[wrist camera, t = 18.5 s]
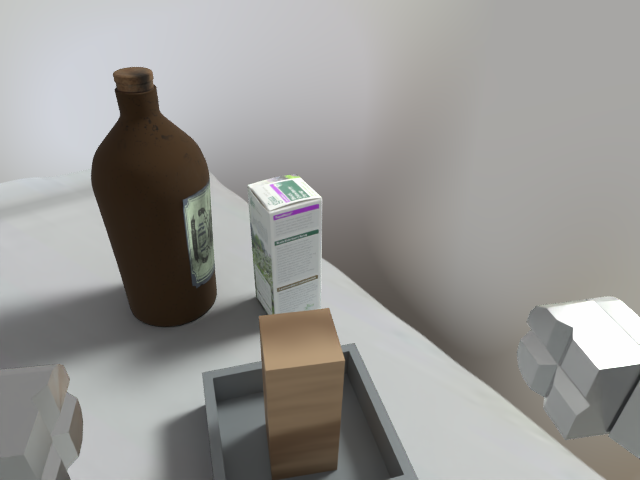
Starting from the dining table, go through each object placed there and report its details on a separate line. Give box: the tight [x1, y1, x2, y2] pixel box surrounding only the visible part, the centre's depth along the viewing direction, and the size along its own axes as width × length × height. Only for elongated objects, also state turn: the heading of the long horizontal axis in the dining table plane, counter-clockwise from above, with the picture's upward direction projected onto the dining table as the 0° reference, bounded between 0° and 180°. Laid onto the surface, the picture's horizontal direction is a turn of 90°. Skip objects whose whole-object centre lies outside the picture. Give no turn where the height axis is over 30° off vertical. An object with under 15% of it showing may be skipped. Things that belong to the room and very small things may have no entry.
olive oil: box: [91, 67, 217, 327], centre depth 48 cm, size 11×11×25 cm
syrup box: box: [248, 175, 322, 315], centre depth 51 cm, size 6×6×14 cm
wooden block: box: [259, 308, 345, 480], centre depth 36 cm, size 5×5×12 cm
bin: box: [202, 343, 418, 480], centre depth 39 cm, size 14×14×4 cm
